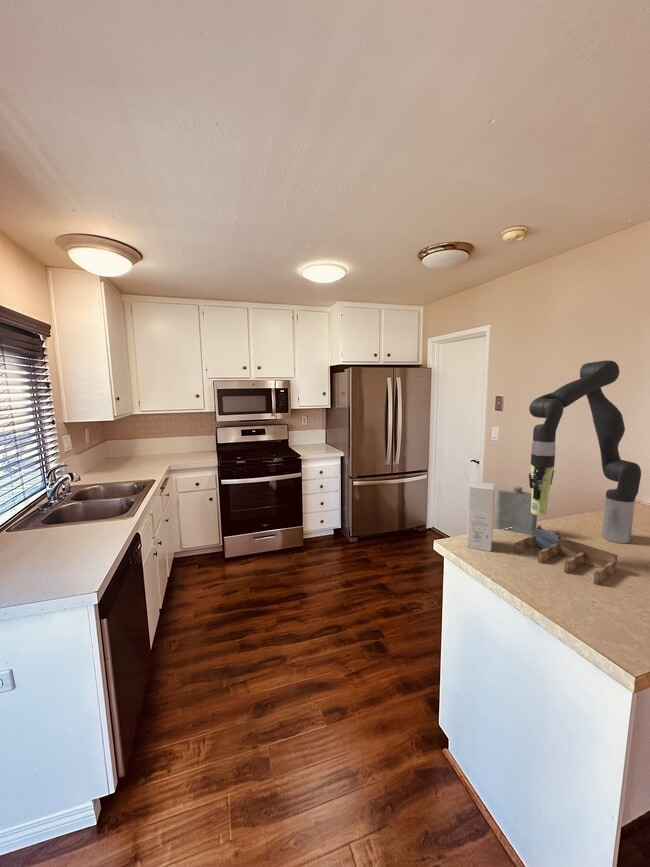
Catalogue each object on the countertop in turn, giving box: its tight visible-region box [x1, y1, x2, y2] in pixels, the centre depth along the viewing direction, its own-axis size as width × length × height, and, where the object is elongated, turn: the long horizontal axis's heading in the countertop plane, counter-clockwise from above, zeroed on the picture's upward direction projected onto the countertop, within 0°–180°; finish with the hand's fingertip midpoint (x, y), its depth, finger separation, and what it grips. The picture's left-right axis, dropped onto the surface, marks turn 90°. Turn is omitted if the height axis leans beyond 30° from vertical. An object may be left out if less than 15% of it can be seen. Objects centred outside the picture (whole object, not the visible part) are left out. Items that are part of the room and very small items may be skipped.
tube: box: [530, 464, 555, 517], centre depth 132 cm, size 6×5×20 cm
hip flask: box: [494, 485, 538, 536], centre depth 155 cm, size 16×4×20 cm, turn 56°
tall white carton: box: [466, 481, 496, 552], centre depth 141 cm, size 9×9×25 cm
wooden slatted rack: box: [514, 524, 618, 586], centre depth 128 cm, size 15×27×8 cm, turn 33°
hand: (540, 497), depth 132 cm, fingers closed on tube, 4 cm apart
